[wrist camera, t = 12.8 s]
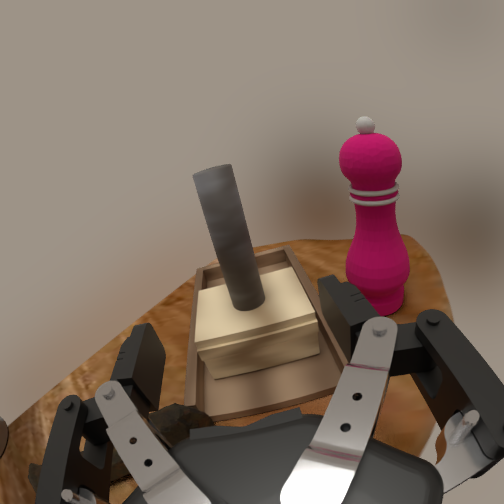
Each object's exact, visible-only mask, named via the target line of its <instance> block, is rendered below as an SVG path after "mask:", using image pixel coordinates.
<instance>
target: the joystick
mask: <svg viewBox="0 0 504 504" xmlns="http://www.w3.org/2000/svg"><path fill="white" fill-rule="evenodd" d="M193 179H194V182H195V186H196V189H197V193H198V196H199V199H200V202H201V206H202V209H203V213H204V216H205V219H206V222H207V225H208V229H209V232H210V236H211V239H212V242H213V245H214V248H215V251H216V255H217V258H218V261H219V264H220V267H221V270H222V273H223V276H224V280H225V283H226V284H224V285H220V286H216V287H212V288H208V289H204V290H200V291H199V292H198V304H197V316H196V328H195V344H196V346H197V352H198V354H199V356H200V358H201V360H202V361H204V362H205V364H206V366H207V368H208V370H209V372H210V374H211V375H212V377H213V379H219V378H224V377H229V376H234V375H238V374H243V373H247V372H252V371H256V370H260V369H264V368H268V367H272V366H276V365H280V364H284V363H288V362H291V361H295V360H298V359H302V358H305V357H309V356H312V355H315V354H319V353H320V350H319V341H318V332H319V329H318V321H317V319H316V316H315V311H314V309H313V307H312V305H311V303H310V301H309V299H308V297H307V295H306V293H305V291H304V289H303V287H302V285H301V283H300V281H299V280H298V278H297V276H296V274H295V272H294V270H293V268H292V267H289V268H285V269H281V270H278V271H274V272H270V273H266V274H263V275H259V271H258V267H257V263H256V259H255V255H254V251H253V247H252V244H251V240H250V236H249V232H248V228H247V224H246V220H245V216H244V212H243V208H242V204H241V201H240V197H239V193H238V189H237V185H236V181H235V177H234V173H233V169H232V166H231V164H226V165H221V166H217V167H212V168H209V169H206V170H203V171H200V172H198V173H195V174H194V175H193Z"/></svg>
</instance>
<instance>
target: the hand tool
mask: <svg viewBox="0 0 504 504" xmlns="http://www.w3.org/2000/svg"><path fill="white" fill-rule="evenodd" d="M148 417H149V418H150V419H151V420H152V422H153V423H154V424H155V426H156V427H157V428H158V429H159V431H160V432H161V433H162V434H163V436H164V437H165V438H166V439H167V440H168V442H169V443H170V444H171V445H172V446H174V445H176V444H177V443H179V442H180V441H182V440H184V439H186V438H189V437H190V429H196V428H204V427H211V426H213V424H214V423H213V421H212V419H211V418H210V417H209V415H207V414H206V413H205V412H203V411H199V410H197V409H195V408H193V407H188V406H184V405H179V404H176V403H174V404H172V405H170V406H166V407H164V408H162V409H161V410H159V411H156V412H153V413H150V414H149V416H148ZM83 452H84V451H82V452H80V454H81V455H82V457H83ZM41 468H42V465H37V464H33V463H31V464H30V465H29V475H28V478H29V481H30V483H31V484H32V486H33V488H34V490H35V492H36V494H37V488H38V482H39V477H40V472H41ZM128 474H130V472H129V470H128V469H127V467H126V465H125V464H124V462H123V460H122V459H121V457H120V455H119V454H118V452H117V450H116V448H115V447H114V449H113V457H112V467H111V478H110V481H113V480H116V479H119V478H121V477H123V476H125V475H128Z"/></svg>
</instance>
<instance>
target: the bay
mask: <svg viewBox="0 0 504 504" xmlns="http://www.w3.org/2000/svg"><path fill="white" fill-rule="evenodd" d="M254 255H255V259H256V263H257V267H258V271H259V275H263V274H266V273H270V272H274V271H278V270H281V269H285V268H289V267H292V268H293V270H294V272H295V274H296V276H297V278H298V280H299V281H300V283H301V285H302V287H303V289H304V291H305V293H306V295H307V297H308V299H309V301H310V303H311V305H312V307H313V309H314V311H315V316H316V319H317V321H318V329H319V332H318V341H319V350H320V353H319V354H315V355H312V356H309V357H305V358H302V359H298V360H295V361H291V362H288V363H284V364H280V365H276V366H272V367H268V368H264V369H260V370H256V371H252V372H247V373H243V374H238V375H234V376H229V377H224V378H219V379H213V377H212V375H211V374H210V372H209V370H208V368H207V366H206V364H205V362H204V361H202V360H201V358H200V356H199V354H198V352H197V346H196V344H195V328H196V316H197V304H198V292H199V291H200V290H204V289H208V288H212V287H216V286H220V285H224V284H226V283H225V280H224V276H223V273H222V270H221V267H220V264H219V263H217V264H213V265H210V266H206V267H202V268H199V269H197V272H196V280H195V288H194V296H193V305H192V314H191V324H190V334H189V344H188V356H187V368H186V381H185V396H184V406H188V407H193V408H195V409H197V410H199V411H203V412H205V413H206V414H207V415H209V417H210V418H211V419H212V421H213V422H216V421H222V420H228V419H234V418H239V417H245V416H250V415H255V414H259V413H264V412H268V411H273V410H277V409H281V408H285V407H289V406H293V405H296V404H300V403H304V402H307V401H311V400H314V399H317V398H320V397H324V396H327V395H330V394H333V393H334V392H335V389H336V387H337V384H338V382H339V380H340V377H341V374H342V372H343V369H344V367H345V365H346V364H347V363H348V361H347V359H346V357H345V355H344V354H343V352H342V350H341V348H340V346H339V344H338V342H337V341H336V339H335V337H334V335H333V333H332V331H331V330H330V328H329V326H328V324H327V322H326V320H325V319H324V316H323V314H322V310H321V305H320V297H319V295H318V293H317V292H316V290H315V288H314V286H313V285H312V283H311V281H310V279H309V278H308V276H307V274H306V273H305V271H304V269H303V267H302V266H301V264H300V262H299V261H298V259H297V257H296V256H295V254H294V252H293V251H292V249H291V247H290V246H289V245H286V246H282V247H278V248H275V249H271V250H267V251H263V252H259V253H256V254H254Z"/></svg>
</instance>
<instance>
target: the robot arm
mask: <svg viewBox="0 0 504 504" xmlns="http://www.w3.org/2000/svg"><path fill="white" fill-rule="evenodd" d="M318 289H319V297H320V305H321V310H322V314H323V316H324V319H325V320H326V322H327V324H328V326H329V328H330V330H331V331H332V333H333V335H334V337H335V339H336V341H337V342H338V344H339V346H340V348H341V350H342V352H343V354H344V355H345V357H346V359H347V361H348V363H347V364H346V365H345V367H344V369H343V372H342V374H341V377H340V380H339V382H338V384H337V387H336V389H335V392H334V394H333V396H332V399H331V401H330V403H329V406H328V408H327V410H326V412H325V415H324V416H323V415H316V414H301V411H300V407H298V408H295V409H291V410H288V411H284V412H280V413H276V414H272V415H270V416H268V417H265V418H263V419H261V420H259V421H257V422H254V423H252V424H250V425H248V426H245V427H230V426H211V427H204V428H196V429H190V437H189V438H186V439H184V440H182V441H180V442H179V443H177V444H176V445H174V446H172V445H171V444H170V443H169V442H168V440H167V439H166V438H165V437H164V436H163V434H162V433H161V432H160V431H159V429H158V428H157V427H156V426H155V424H154V423H153V422H152V420H151V419H150V418H149V417H148V416H149V412H152V411H158V409H159V401H160V393H161V386H162V379H163V372H164V365H165V359H166V354H165V350H164V347H163V345H162V343H161V341H160V340H159V338H158V336H157V334H156V332H155V331H154V329H153V327H152V325H151V324H150V323H144V324H140V325H135V326H134V327H133V330H132V333H131V336H130V337H128V338H127V339H126V340H125V341H124V343H123V344H122V345H121V348H120V351H119V354H118V357H117V361H116V363H115V366H114V369H113V372H112V376H111V379H110V381H108V382H105V383H104V384H102V385H101V386H100V387H99V388H98V389H97V391H96V393H95V397H94V398H91V399H88V400H85V401H82V400H81V399H80V398H79V397H78V396H77V395H69V396H67V397H65V398H64V399H63V400H62V401H61V402H60V404H59V406H58V409H57V412H56V416H55V419H54V422H53V425H52V429H51V432H50V436H49V439H48V443H47V447H46V451H45V455H44V459H43V463H42V468H41V472H40V477H39V482H38V488H37V494H36V500H35V504H110V503H109V491H110V478H111V467H112V457H113V449H114V447H115V448H116V450H117V452H118V454H119V455H120V457H121V459H122V460H123V462H124V464H125V465H126V467H127V469H128V470H129V472H130V473H131V475H132V476H133V478H134V479H135V481H136V482H137V484H138V485H139V486H138V487H137V488H136V489H135V490H134V491H133V492H132V493H131V495H130V496H129V497H128V498H127V499H126V500H125V501H124V502H123V503H122V504H442V499H443V494H445V493H447V492H448V491H450V490H452V489H453V488H455V487H457V486H459V485H460V484H462V483H463V482H465V481H467V480H468V479H470V478H477V477H480V476H482V475H483V474H485V473H486V472H487V471H488V470H490V469H491V468H492V467H493V466H495V465H496V464H497V463H498V462H499V461H500V460H502V459H503V458H504V385H503V384H502V382H501V381H500V380H499V378H498V377H497V376H496V374H495V373H494V372H493V370H492V369H491V368H490V367H489V365H488V364H487V362H486V361H485V360H484V359H483V357H482V356H481V355H480V354H479V353H478V351H477V350H476V349H475V348H474V346H473V345H472V344H471V343H470V342H469V340H468V339H467V338H466V337H465V336H464V335H463V333H462V332H461V331H460V330H459V329H458V328H457V326H456V325H455V324H454V323H453V322H452V321H451V320H450V319H449V317H448V316H447V315H446V314H445V313H443V312H441V311H439V310H434V309H430V310H425V311H423V312H421V313H420V314H419V315H418V317H417V320H416V322H414V323H407V324H396V323H395V322H394V321H393V320H392V319H390V318H387V317H381V316H380V315H379V314H378V312H377V311H376V310H375V309H374V307H373V306H372V305H371V304H370V303H369V301H368V300H367V299H365V296H364V295H363V294H361V292H360V290H359V289H358V288H357V287H356V286H355V285H353V284H351V283H349V282H343V283H340V282H339V281H338V279H337V278H336V277H335V275H330V276H326V277H323V278H320V279H318ZM405 374H410V375H411V376H412V378H413V380H414V382H415V383H416V385H417V387H418V389H419V390H420V392H421V394H422V396H423V397H424V399H425V401H426V403H427V405H428V406H429V408H430V410H431V412H432V414H433V416H434V417H435V419H436V421H437V423H438V425H439V427H440V429H441V433H440V434H439V436H438V437H437V440H436V444H435V447H436V451H437V462H436V464H435V466H433V465H432V464H431V463H430V462H428V461H426V460H424V459H421V458H419V457H416V456H413V455H411V454H408V453H406V452H403V451H401V450H399V449H396V448H394V447H392V446H389V445H387V444H385V443H382V442H380V441H378V440H376V439H374V438H373V437H374V434H375V431H376V428H377V424H378V421H379V417H380V414H381V410H382V407H383V403H384V399H385V396H386V392H387V388H388V384H389V380H390V377H391V376H398V375H405ZM81 436H83V437H84V438H85V439H86V442H85V447H84V452H83V457H82V455H81V454H80V451H79V446H80V441H81ZM7 437H8V429H7V425H6V422H5V421H4V420H3V419H2V418H1V417H0V456H1V454H2V453H3V450H4V448H5V445H6V442H7Z"/></svg>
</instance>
